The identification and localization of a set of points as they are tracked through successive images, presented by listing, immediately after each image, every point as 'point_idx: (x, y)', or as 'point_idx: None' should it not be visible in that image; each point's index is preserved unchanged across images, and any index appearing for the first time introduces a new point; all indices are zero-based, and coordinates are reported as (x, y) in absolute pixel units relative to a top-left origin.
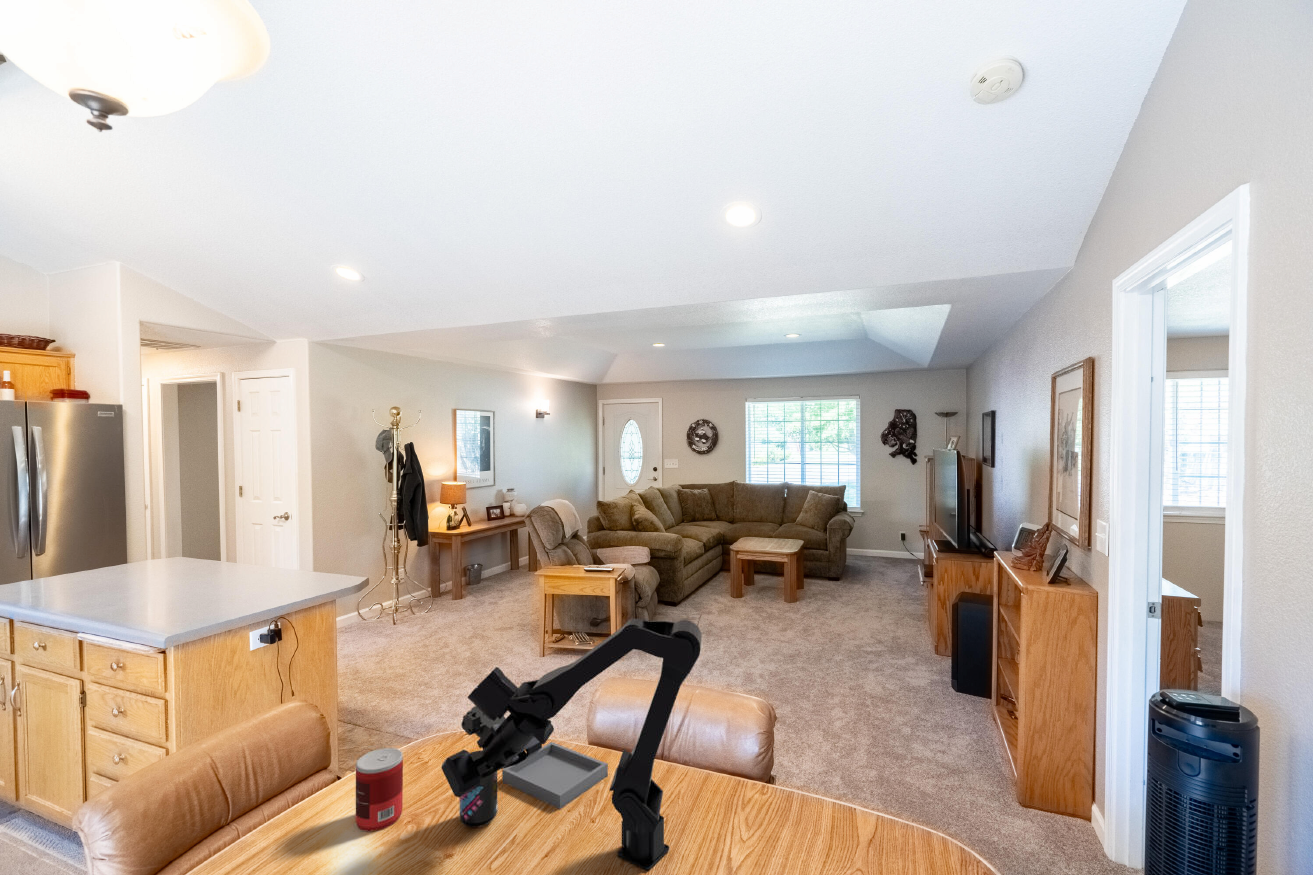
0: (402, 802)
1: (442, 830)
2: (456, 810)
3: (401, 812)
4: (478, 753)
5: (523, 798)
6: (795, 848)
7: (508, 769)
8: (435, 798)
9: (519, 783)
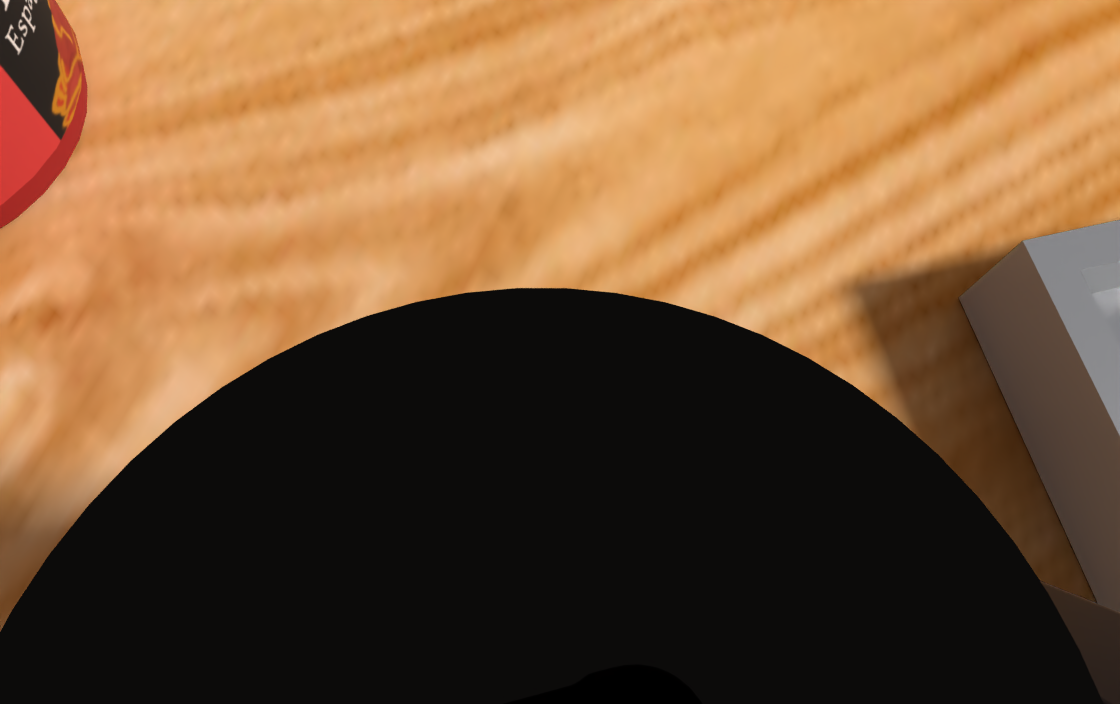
0: (26, 117)
1: None
2: None
3: (37, 184)
4: (703, 465)
5: None
6: None
7: (1080, 280)
8: (383, 156)
9: (1104, 514)
